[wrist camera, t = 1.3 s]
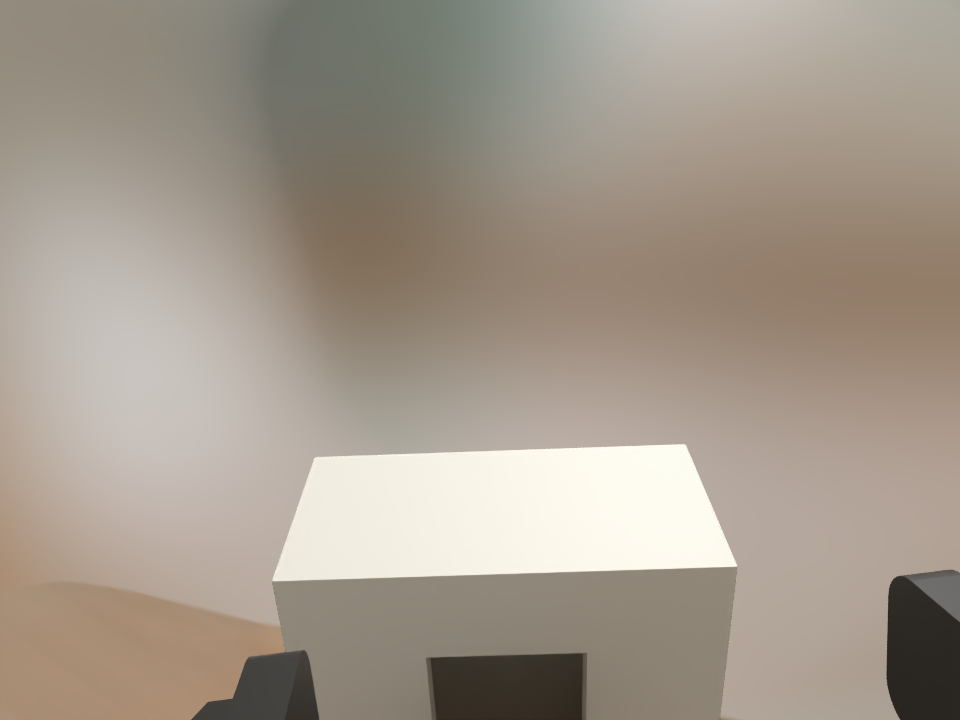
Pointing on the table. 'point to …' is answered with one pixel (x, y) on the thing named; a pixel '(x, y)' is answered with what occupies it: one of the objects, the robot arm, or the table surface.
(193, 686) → the table surface
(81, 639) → the table surface
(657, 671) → the box
